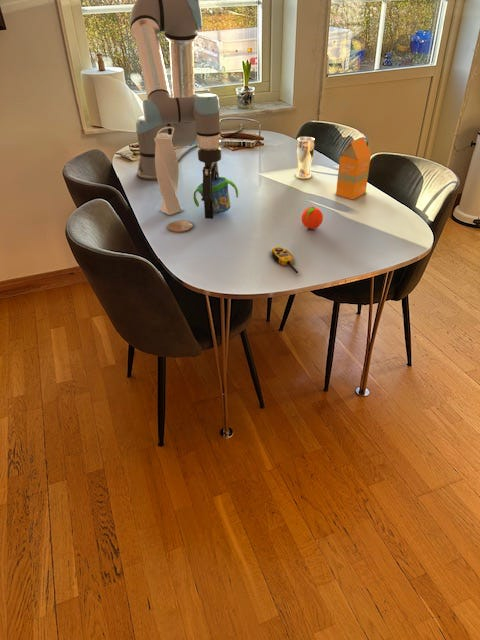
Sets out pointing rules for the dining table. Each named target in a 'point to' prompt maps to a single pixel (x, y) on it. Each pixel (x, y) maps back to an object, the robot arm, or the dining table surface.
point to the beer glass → (304, 156)
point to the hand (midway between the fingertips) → (212, 210)
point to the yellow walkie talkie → (283, 257)
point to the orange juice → (353, 170)
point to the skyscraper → (167, 172)
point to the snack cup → (218, 194)
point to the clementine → (312, 217)
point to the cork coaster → (180, 226)
